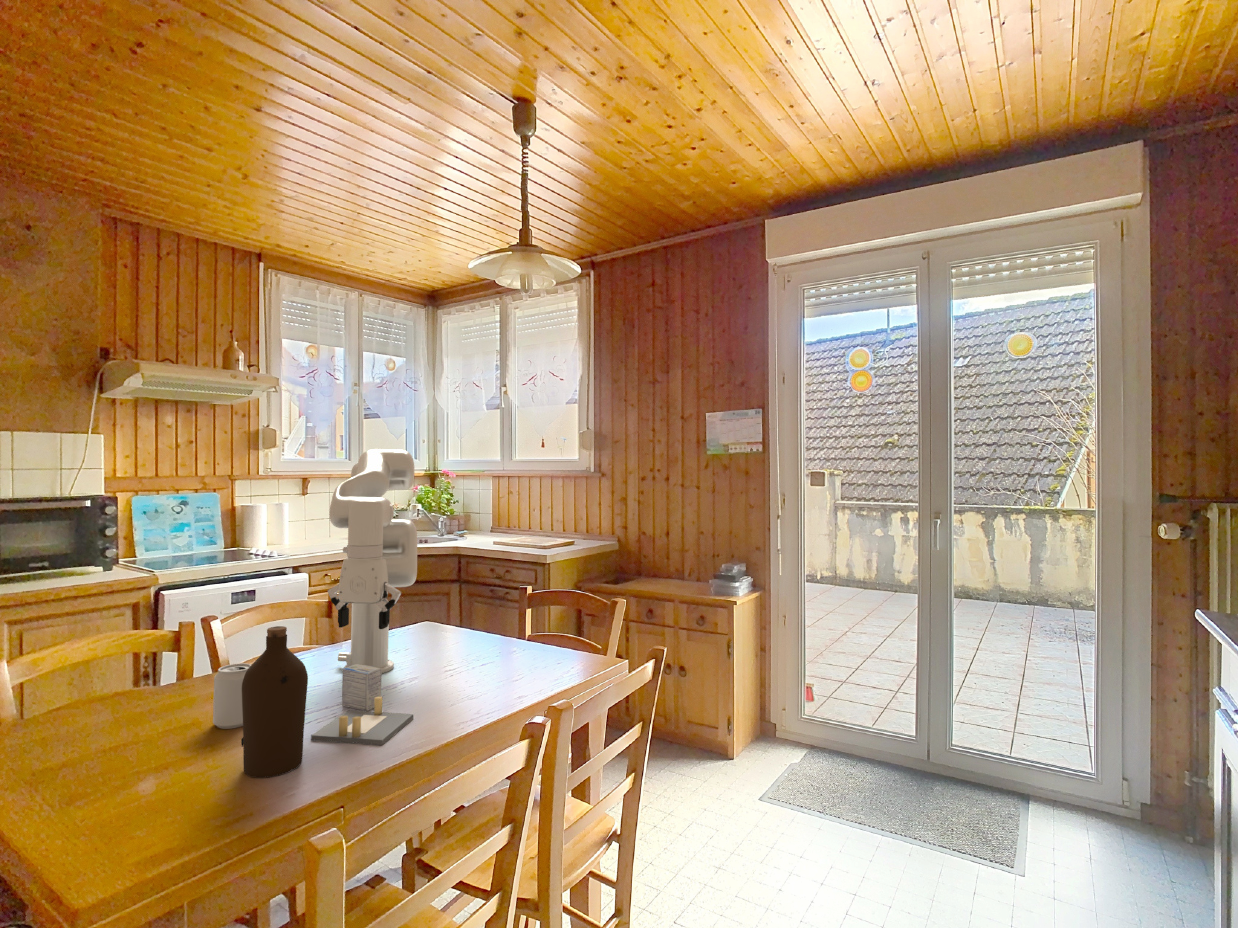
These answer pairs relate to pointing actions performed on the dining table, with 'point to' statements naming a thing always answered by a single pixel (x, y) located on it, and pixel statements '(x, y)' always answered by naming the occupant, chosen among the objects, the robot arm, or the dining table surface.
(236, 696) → the can
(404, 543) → the robot arm
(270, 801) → the dining table surface
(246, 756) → the olive oil
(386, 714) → the pin board
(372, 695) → the medicine box
